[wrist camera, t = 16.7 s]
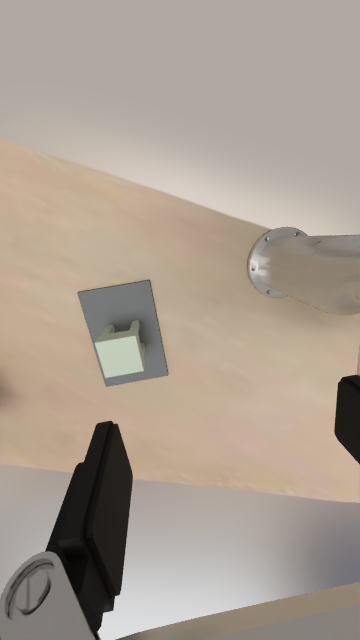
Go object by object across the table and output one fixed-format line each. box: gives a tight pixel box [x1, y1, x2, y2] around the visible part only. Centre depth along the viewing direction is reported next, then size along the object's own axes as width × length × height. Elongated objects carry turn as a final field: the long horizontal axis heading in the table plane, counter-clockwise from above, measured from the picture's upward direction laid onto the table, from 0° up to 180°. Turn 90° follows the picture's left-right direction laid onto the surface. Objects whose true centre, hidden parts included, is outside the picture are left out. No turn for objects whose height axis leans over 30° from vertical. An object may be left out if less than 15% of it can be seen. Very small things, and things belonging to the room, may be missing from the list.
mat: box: [78, 280, 168, 387], centre depth 47 cm, size 13×20×1 cm, turn 9°
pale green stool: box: [95, 320, 145, 378], centre depth 42 cm, size 6×6×8 cm
